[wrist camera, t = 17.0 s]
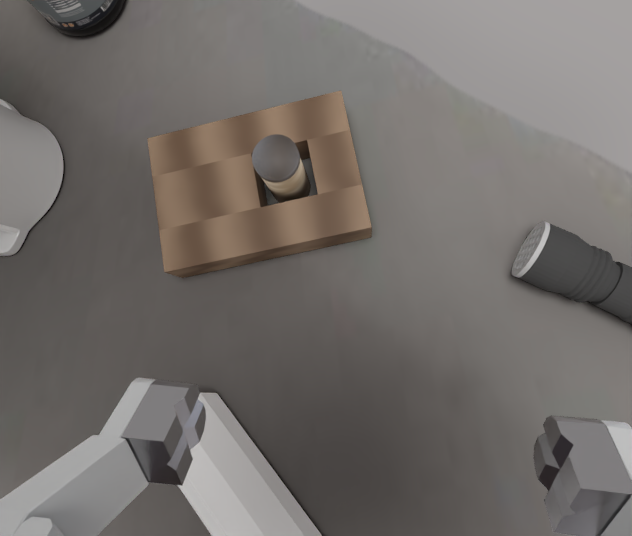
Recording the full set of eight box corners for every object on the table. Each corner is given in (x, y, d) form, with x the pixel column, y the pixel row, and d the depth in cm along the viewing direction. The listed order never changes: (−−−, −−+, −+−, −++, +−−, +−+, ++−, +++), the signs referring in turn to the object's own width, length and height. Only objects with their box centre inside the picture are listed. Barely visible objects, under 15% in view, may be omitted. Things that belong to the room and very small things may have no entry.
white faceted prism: (381, 600, 34) (206, 364, 39) (317, 688, 31) (132, 416, 35) (349, 585, 41) (201, 383, 45) (293, 657, 37) (139, 429, 42)
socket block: (182, 277, 45) (164, 272, 41) (165, 154, 47) (147, 138, 43) (371, 237, 43) (371, 227, 39) (343, 112, 45) (341, 90, 41)
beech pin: (276, 210, 45) (256, 184, 37) (269, 174, 45) (248, 140, 37) (314, 202, 44) (302, 173, 36) (306, 165, 45) (293, 129, 37)
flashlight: (693, 301, 39) (745, 295, 33) (670, 355, 38) (719, 358, 33) (528, 229, 41) (552, 213, 36) (505, 279, 41) (526, 270, 36)
